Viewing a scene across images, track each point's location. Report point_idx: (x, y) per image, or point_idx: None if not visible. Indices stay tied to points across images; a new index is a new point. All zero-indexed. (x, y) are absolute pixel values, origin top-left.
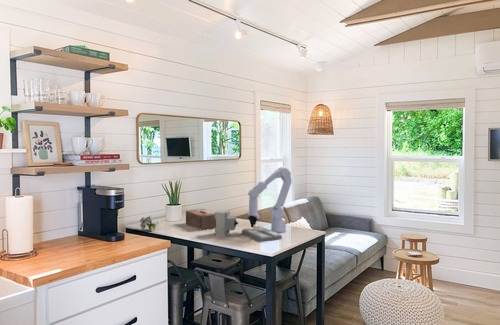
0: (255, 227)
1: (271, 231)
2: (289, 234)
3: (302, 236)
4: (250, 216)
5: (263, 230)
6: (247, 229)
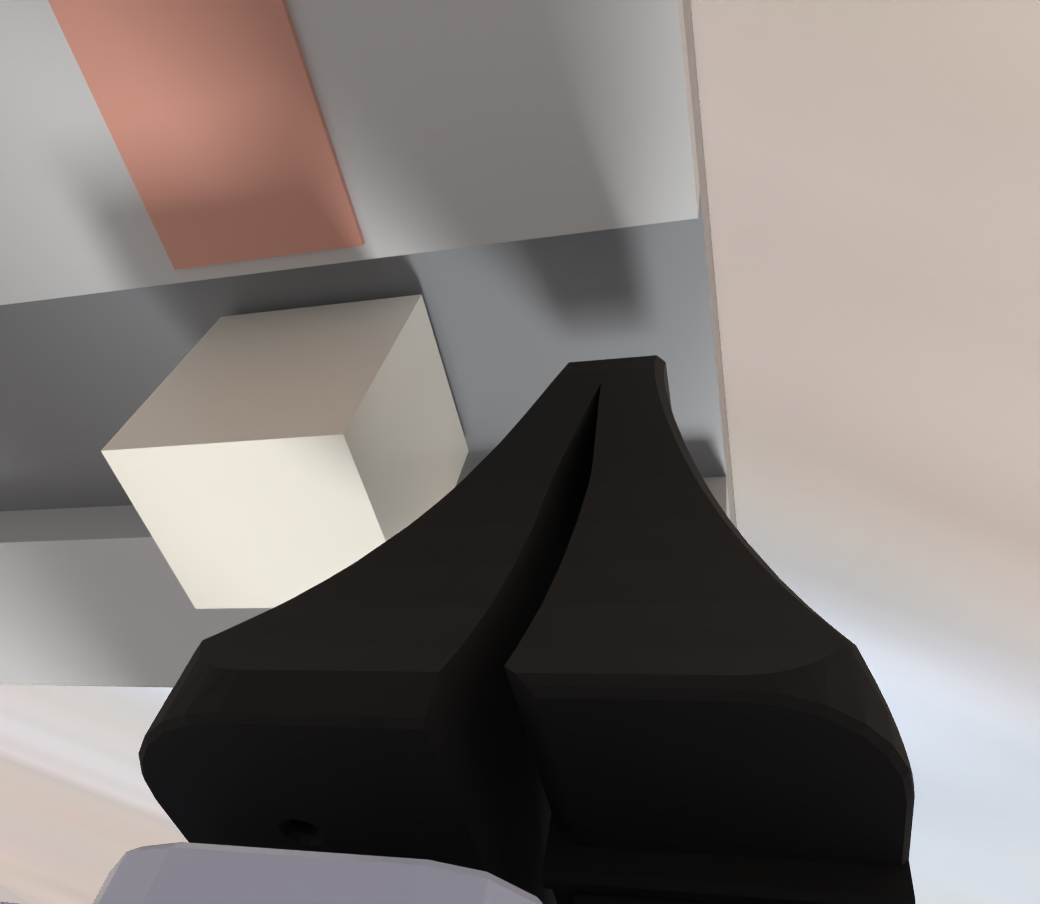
0: (174, 402)
1: (54, 656)
2: None
3: None
4: (757, 876)
5: None
6: (394, 25)
